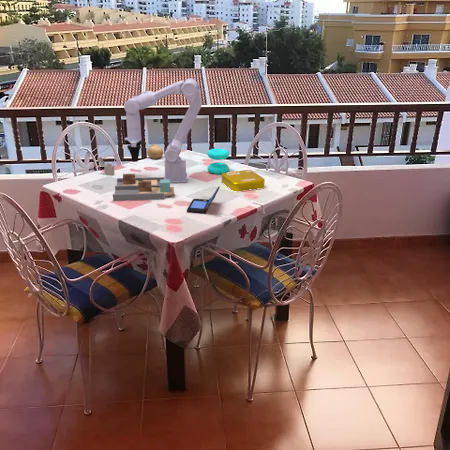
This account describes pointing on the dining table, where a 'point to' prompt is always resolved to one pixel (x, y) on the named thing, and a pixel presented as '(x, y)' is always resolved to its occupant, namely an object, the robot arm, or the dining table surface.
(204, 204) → the handheld game console
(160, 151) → the onion
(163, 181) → the teal cube
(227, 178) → the element tile
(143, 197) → the slate board
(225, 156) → the donuts
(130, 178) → the broken strip front
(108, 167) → the lighter
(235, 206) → the dining table surface
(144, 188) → the oak strip
